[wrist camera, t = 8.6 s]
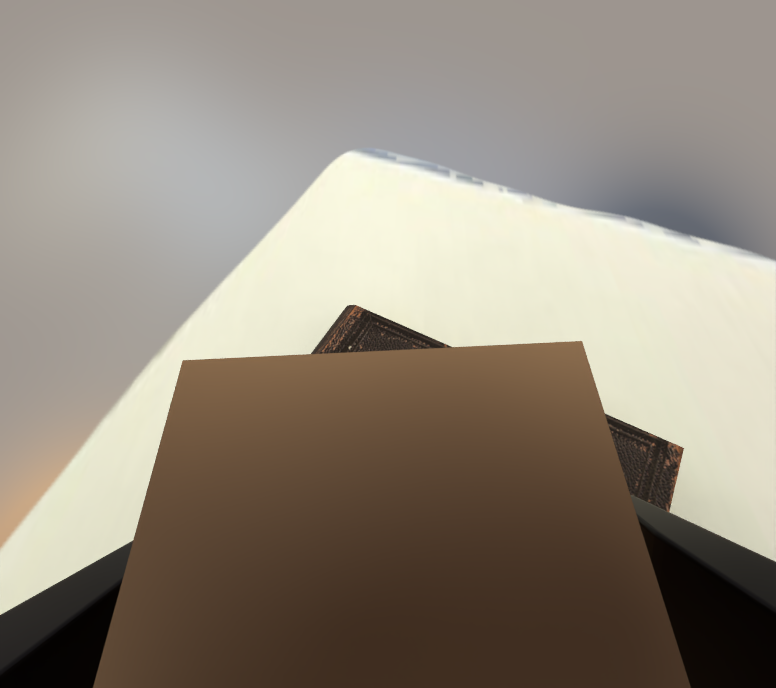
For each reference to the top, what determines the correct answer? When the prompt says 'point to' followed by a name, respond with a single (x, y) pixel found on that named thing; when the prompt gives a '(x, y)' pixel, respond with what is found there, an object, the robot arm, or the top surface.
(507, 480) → the walnut block
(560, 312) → the top surface
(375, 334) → the hardcover book
